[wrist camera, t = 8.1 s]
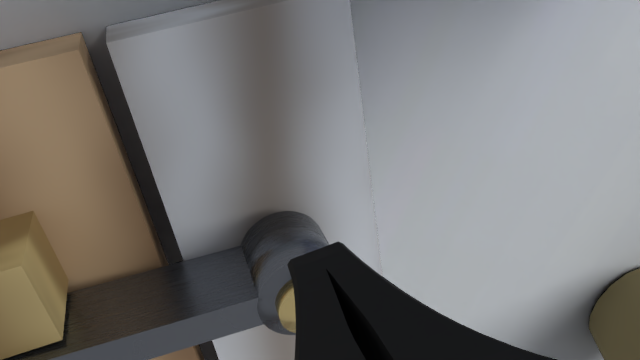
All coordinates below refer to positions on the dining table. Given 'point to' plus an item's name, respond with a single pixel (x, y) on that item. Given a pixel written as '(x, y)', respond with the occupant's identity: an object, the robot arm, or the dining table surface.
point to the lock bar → (189, 298)
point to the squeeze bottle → (618, 319)
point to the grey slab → (177, 154)
